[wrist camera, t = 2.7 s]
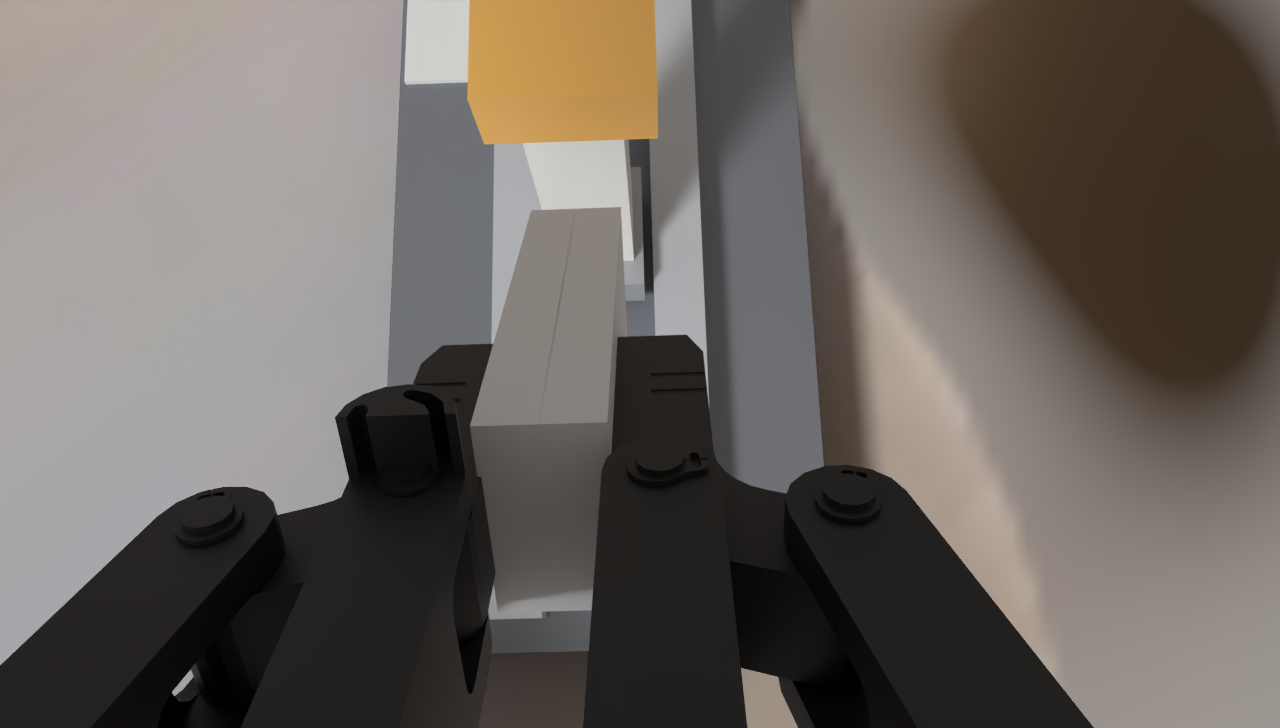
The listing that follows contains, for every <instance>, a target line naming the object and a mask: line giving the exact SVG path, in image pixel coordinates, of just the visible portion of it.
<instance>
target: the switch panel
mask: <svg viewBox="0 0 1280 728" xmlns="http://www.w3.org/2000/svg"><path fill="white" fill-rule="evenodd" d="M654 2H655V32H656V61H657V91H658V138H657V139H628V140H629V153H630V167H641V179H642V206H643V242H644V277H645V300H644V301H626V316H627V335H628V337H629V336H659V335H688V336H689V337H690V338H691V339H692V341H693V342H694V343H695V344H696V345H697V346H698V347H699V348H700V349H701V350H702V351H703V355H704V364H705V376H706V383H707V393H708V402H709V412H710V421H711V431H712V440H713V450H714V454H715V457H716V460H717V462H718V463H719V464H720V466H721V467H722V468H723V469H724V470H725V471H726V472H727V473H729V474H730V475H731V476H733V477H734V478H735V479H737V480H740V481H742V482H744V483H746V484H748V485H751V486H754V487H758V488H762V489H766V490H771V491H776V492H781V493H787V491H788V489H789V486H790V484H791V483H792V482H793V481H794V480H796V479H797V478H798V477H799V476H801V475H802V474H803V473H805V472H808V471H811V470H814V469H817V468H820V467H824V461H823V447H822V434H821V420H820V407H819V393H818V380H817V367H816V353H815V340H814V326H813V313H812V299H811V286H810V272H809V259H808V245H807V232H806V219H805V205H804V192H803V178H802V165H801V151H800V138H799V124H798V111H797V97H796V84H795V71H794V57H793V44H792V30H791V17H790V3H789V0H654ZM469 3H470V0H404V4H403V28H402V51H401V75H400V99H399V123H398V146H397V170H396V194H395V217H394V241H393V265H392V289H391V312H390V336H389V360H388V383H387V387H391V386H399V385H406V384H411V385H413V382H414V380H415V377H416V375H417V372H418V370H419V367H420V365H421V363H422V362H424V361H425V360H426V359H427V358H428V357H429V356H431V355H432V354H433V353H434V352H435V351H436V350H438V349H439V348H440V347H441V346H442V345H467V344H493V343H494V339H495V336H496V332H497V329H498V325H499V322H500V318H501V315H502V311H503V308H504V304H505V301H506V297H507V294H508V290H509V287H510V283H511V280H512V276H513V273H514V269H515V266H516V262H517V259H518V255H519V252H520V248H521V244H522V241H523V237H524V234H525V230H526V227H527V223H528V220H529V216H530V213H531V210H542V208H541V204H540V201H539V197H538V194H537V191H536V187H535V184H534V181H533V177H532V174H531V170H530V167H529V164H528V160H527V157H526V153H525V150H524V147H523V143H512V144H484V142H483V140H482V137H481V134H480V132H479V129H478V126H477V124H476V121H475V118H474V116H473V113H472V110H471V108H470V105H469V102H468V100H467V93H468V48H469ZM591 611H592V610H583V611H546V612H508V613H498V610H497V603H496V597H495V590H494V584H493V589H492V594H491V599H490V604H489V609H488V613H489V619H490V626H491V633H492V644H493V646H492V651H491V654H496V653H535V652H573V651H589V639H590V625H591Z"/></svg>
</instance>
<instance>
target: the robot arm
mask: <svg viewBox="0 0 1280 728" xmlns="http://www.w3.org/2000/svg"><path fill="white" fill-rule="evenodd" d="M335 419H336V423H337V428H338V432H339V436H340V441H341V445H342V449H343V454H344V458H345V462H346V467H347V471H348V475H349V481H348V483H347V485H346V488H345V490H344V492H343V495H342V497H341V498H339V499H337V500H334V501H331V502H328V503H325V504H321V505H318V506H315V507H310V508H306V509H302V510H298V511H293V512H289V513H285V514H280V515H277V513H276V509H275V506H274V502H273V501H272V500H271V499H270V498H269V497H268V496H267V495H266V494H265V493H264V492H261V491H258V490H255V489H251V488H248V487H222V488H217V489H213V490H207V491H203V492H200V493H197V494H195V495H193V496H191V497H188V498H186V499H184V500H182V501H179V502H177V503H175V504H174V505H173V506H171V507H170V508H169V509H167V510H166V511H164V512H163V513H162V514H160V515H159V516H158V517H157V518H155V519H154V520H153V521H152V522H151V523H150V524H149V525H148V526H147V527H146V528H145V529H144V530H143V531H142V532H141V533H140V534H139V535H138V536H136V537H135V538H134V539H133V540H132V541H131V542H130V543H129V544H128V545H127V546H126V547H125V548H124V549H123V550H122V551H121V552H120V553H119V554H117V555H116V556H115V557H114V558H113V559H112V560H111V561H110V562H109V563H108V564H107V565H106V566H105V567H104V568H103V569H102V570H101V571H100V572H98V573H97V574H96V575H95V576H94V577H93V578H92V579H91V580H90V581H89V582H88V583H87V584H86V585H85V586H84V587H83V588H82V589H81V590H79V591H78V592H77V593H76V594H75V595H74V596H73V597H72V598H71V599H70V600H69V601H68V602H67V603H66V604H65V605H64V606H63V607H62V608H60V609H59V610H58V611H57V612H56V613H55V614H54V615H53V616H52V617H51V618H50V619H49V620H48V621H47V622H46V623H45V624H44V625H43V626H41V627H40V628H39V629H38V630H37V631H36V632H35V633H34V634H33V635H32V636H31V637H30V638H29V639H28V640H27V641H26V642H25V643H24V644H22V645H21V646H20V647H19V648H18V649H17V650H16V651H15V652H14V653H13V654H12V655H11V656H10V657H9V658H8V659H7V660H6V661H5V662H3V663H2V664H1V665H0V728H478V724H479V718H480V713H481V707H482V702H483V696H484V690H485V685H486V679H487V674H488V668H489V662H490V657H491V651H492V646H493V644H492V633H491V626H490V619H489V613H488V609H489V604H490V599H491V594H492V589H493V584H494V590H495V597H496V603H497V610H498V613H508V612H546V611H583V610H592V611H591V625H590V639H589V654H588V668H587V682H586V696H585V710H584V724H583V728H747V721H746V712H745V703H744V693H743V684H742V675H741V668H744V669H748V670H753V671H757V672H761V673H765V674H769V675H773V676H777V677H778V678H779V683H780V687H781V692H782V694H783V696H784V698H785V700H786V702H787V705H788V707H789V709H790V711H791V713H792V715H793V718H794V720H795V722H796V724H797V726H798V728H1094V727H1093V726H1092V725H1091V724H1090V722H1089V721H1088V720H1087V719H1086V717H1085V716H1084V715H1083V714H1082V712H1081V711H1080V710H1079V708H1078V707H1077V706H1076V705H1075V703H1074V702H1073V701H1072V700H1071V698H1070V697H1069V696H1068V695H1067V693H1066V692H1065V691H1064V690H1063V688H1062V687H1061V686H1060V684H1059V683H1058V682H1057V681H1056V679H1055V678H1054V677H1053V676H1052V674H1051V673H1050V672H1049V671H1048V669H1047V668H1046V667H1045V665H1044V664H1043V663H1042V662H1041V660H1040V659H1039V658H1038V657H1037V655H1036V654H1035V653H1034V652H1033V650H1032V649H1031V648H1030V647H1029V645H1028V644H1027V643H1026V641H1025V640H1024V639H1023V638H1022V636H1021V635H1020V634H1019V633H1018V631H1017V630H1016V629H1015V628H1014V626H1013V625H1012V624H1011V623H1010V621H1009V620H1008V619H1007V617H1006V616H1005V615H1004V614H1003V612H1002V611H1001V610H1000V609H999V607H998V606H997V605H996V604H995V602H994V601H993V600H992V598H991V597H990V596H989V595H988V593H987V592H986V591H985V590H984V588H983V587H982V586H981V585H980V583H979V582H978V581H977V580H976V578H975V577H974V576H973V574H972V573H971V572H970V571H969V569H968V568H967V567H966V566H965V564H964V563H963V562H962V561H961V559H960V558H959V557H958V556H957V554H956V553H955V552H954V550H953V549H952V548H951V547H950V545H949V544H948V543H947V542H946V540H945V539H944V538H943V537H942V535H941V534H940V533H939V531H938V530H937V529H936V528H935V526H934V525H933V524H932V523H931V521H930V520H929V519H928V518H927V516H926V515H925V514H924V513H923V511H922V510H921V509H920V507H919V506H918V505H917V504H916V502H915V501H914V500H913V499H912V497H911V496H910V495H909V494H908V492H907V491H906V490H905V489H904V488H902V487H901V486H900V485H899V484H898V483H897V482H895V481H894V480H893V479H892V478H890V477H888V476H885V475H883V474H881V473H878V472H876V471H874V470H871V469H867V468H861V467H855V466H849V465H840V466H824V467H820V468H817V469H814V470H811V471H808V472H805V473H803V474H802V475H801V476H799V477H798V478H797V479H796V480H794V481H793V482H792V483H791V484H790V486H789V489H788V491H787V493H781V492H776V491H771V490H766V489H762V488H758V487H754V486H751V485H748V484H746V483H744V482H742V481H740V480H737V479H735V478H734V477H733V476H731V475H730V474H729V473H727V472H726V471H725V470H724V469H723V468H722V467H721V466H720V464H719V463H718V462H717V460H716V457H715V454H714V450H713V440H712V431H711V421H710V412H709V402H708V393H707V383H706V376H705V364H704V355H703V351H702V350H701V349H700V348H699V347H698V346H697V345H696V344H695V343H694V342H693V341H692V339H691V338H690V337H689V336H688V335H659V336H629V337H628V335H627V316H626V298H625V279H624V260H623V241H622V222H621V207H609V208H582V209H554V210H531V213H530V216H529V220H528V223H527V227H526V230H525V234H524V237H523V241H522V244H521V248H520V252H519V255H518V259H517V262H516V266H515V269H514V273H513V276H512V280H511V283H510V287H509V290H508V294H507V297H506V301H505V304H504V308H503V311H502V315H501V318H500V322H499V325H498V329H497V332H496V336H495V339H494V343H493V344H467V345H442V346H441V347H440V348H439V349H438V350H436V351H435V352H434V353H433V354H432V355H431V356H429V357H428V358H427V359H426V360H425V361H424V362H422V363H421V365H420V367H419V370H418V372H417V375H416V377H415V380H414V382H413V385H411V384H406V385H399V386H391V387H384V388H381V389H378V390H375V391H372V392H369V393H366V394H363V395H362V396H360V397H358V398H357V399H355V400H353V401H352V402H350V403H348V404H347V405H345V406H344V408H343V409H342V410H341V411H340V412H339V413H338V415H337V416H336V417H335ZM190 669H191V671H192V673H193V676H194V677H193V678H192V680H191V681H190V682H189V683H188V684H187V686H186V687H185V688H184V689H183V690H182V691H181V692H179V693H178V694H177V695H176V696H174V695H173V694H172V691H173V690H174V689H175V687H176V686H177V685H178V684H179V683H180V681H181V680H182V679H183V678H184V677H185V675H186V674H187V673H188V672H189V671H190Z"/></svg>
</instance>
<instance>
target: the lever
mask: <svg viewBox="0 0 1280 728" xmlns="http://www.w3.org/2000/svg"><path fill="white" fill-rule="evenodd" d="M467 100H468V102H469V105H470V108H471V110H472V113H473V116H474V118H475V121H476V124H477V126H478V129H479V132H480V134H481V137H482V140H483V142H484V144H512V143H523V147H524V150H525V153H526V157H527V160H528V164H529V167H530V170H531V174H532V177H533V181H534V184H535V187H536V191H537V194H538V197H539V201H540V204H541V208H542V210H554V209H582V208H609V207H621V222H622V241H623V260H624V279H625V298H626V301H644V300H645V277H644V242H643V206H642V179H641V167H630V153H629V140H628V139H657V138H658V91H657V61H656V32H655V2H654V0H470V3H469V48H468V93H467Z"/></svg>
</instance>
